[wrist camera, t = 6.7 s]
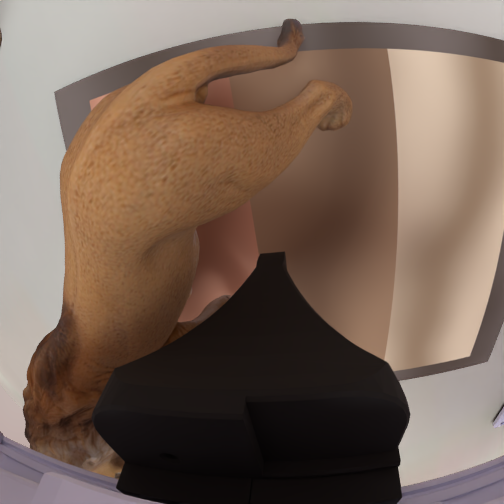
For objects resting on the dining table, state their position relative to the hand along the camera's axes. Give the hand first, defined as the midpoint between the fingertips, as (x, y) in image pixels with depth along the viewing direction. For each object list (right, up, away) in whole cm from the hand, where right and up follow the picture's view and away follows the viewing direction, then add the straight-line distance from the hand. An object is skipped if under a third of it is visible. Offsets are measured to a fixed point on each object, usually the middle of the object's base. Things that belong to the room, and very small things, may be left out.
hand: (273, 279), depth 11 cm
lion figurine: (-1, +1, +1) cm, 2 cm away
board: (+2, +1, +2) cm, 3 cm away
